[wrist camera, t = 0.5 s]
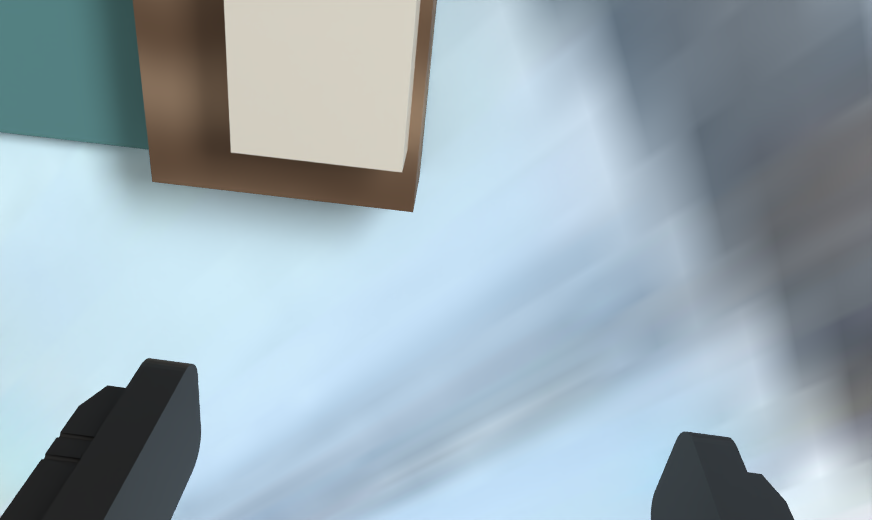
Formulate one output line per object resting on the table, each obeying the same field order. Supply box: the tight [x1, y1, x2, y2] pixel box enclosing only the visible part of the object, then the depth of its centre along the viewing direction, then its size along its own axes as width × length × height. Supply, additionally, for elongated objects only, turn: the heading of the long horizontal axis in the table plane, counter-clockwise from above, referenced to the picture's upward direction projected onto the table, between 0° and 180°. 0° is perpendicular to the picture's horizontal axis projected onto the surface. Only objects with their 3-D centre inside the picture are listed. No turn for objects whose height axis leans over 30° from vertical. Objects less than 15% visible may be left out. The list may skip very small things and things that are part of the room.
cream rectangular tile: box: [224, 0, 421, 172], centre depth 28 cm, size 10×7×2 cm
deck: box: [133, 0, 437, 212], centre depth 30 cm, size 16×12×4 cm
